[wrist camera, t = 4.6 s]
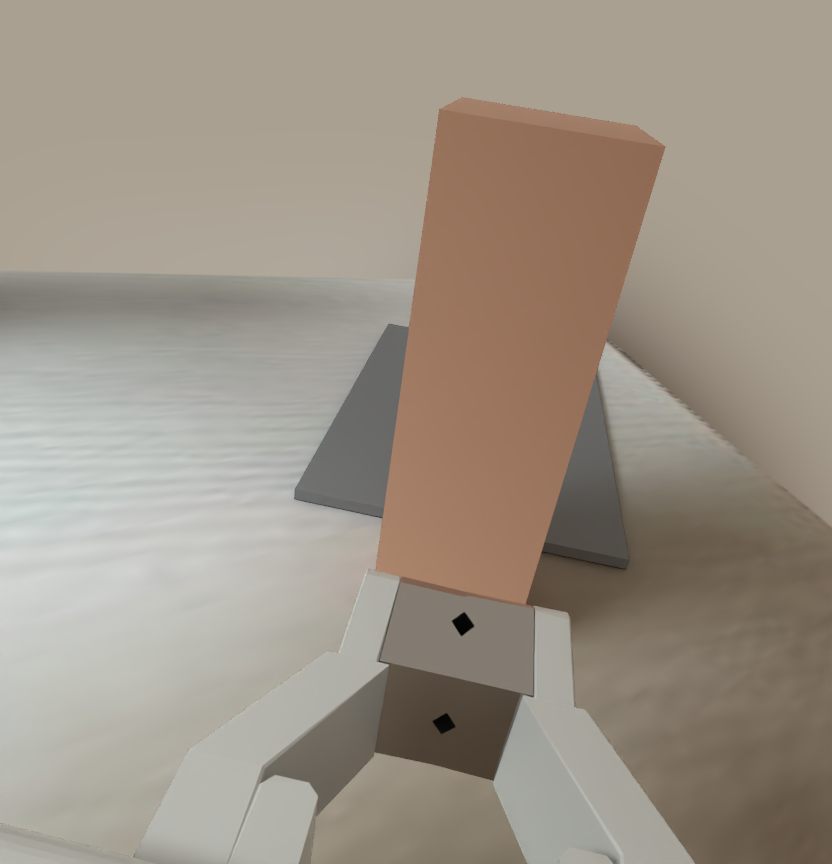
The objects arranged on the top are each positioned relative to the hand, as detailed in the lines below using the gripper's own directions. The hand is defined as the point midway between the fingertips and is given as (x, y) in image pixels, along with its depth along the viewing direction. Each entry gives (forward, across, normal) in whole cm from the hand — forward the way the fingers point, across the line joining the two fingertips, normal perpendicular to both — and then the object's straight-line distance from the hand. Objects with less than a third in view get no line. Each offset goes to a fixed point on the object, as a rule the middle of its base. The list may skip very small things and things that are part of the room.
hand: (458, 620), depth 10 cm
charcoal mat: (+24, 0, +10) cm, 26 cm away
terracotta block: (+12, 0, +10) cm, 15 cm away
